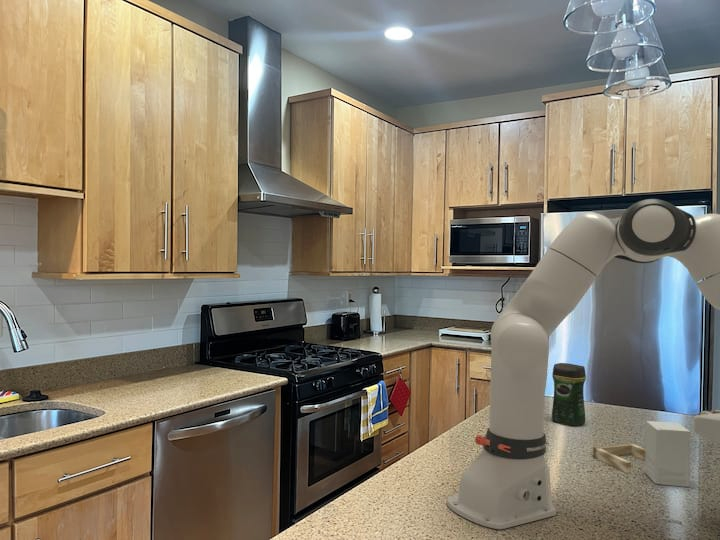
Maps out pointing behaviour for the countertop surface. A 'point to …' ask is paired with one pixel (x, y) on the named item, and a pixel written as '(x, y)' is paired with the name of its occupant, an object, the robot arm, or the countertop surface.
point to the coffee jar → (568, 394)
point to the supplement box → (667, 453)
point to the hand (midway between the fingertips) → (707, 414)
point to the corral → (612, 452)
